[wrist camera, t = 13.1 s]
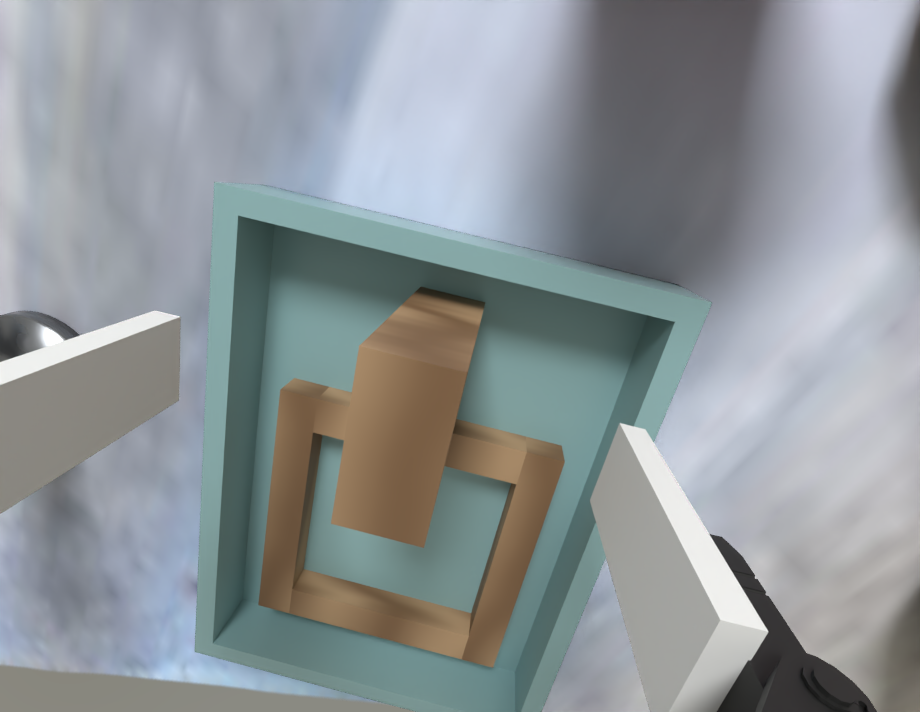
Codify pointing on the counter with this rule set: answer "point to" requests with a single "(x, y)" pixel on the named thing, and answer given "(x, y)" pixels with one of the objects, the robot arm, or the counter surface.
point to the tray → (460, 493)
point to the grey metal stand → (30, 333)
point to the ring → (403, 481)
